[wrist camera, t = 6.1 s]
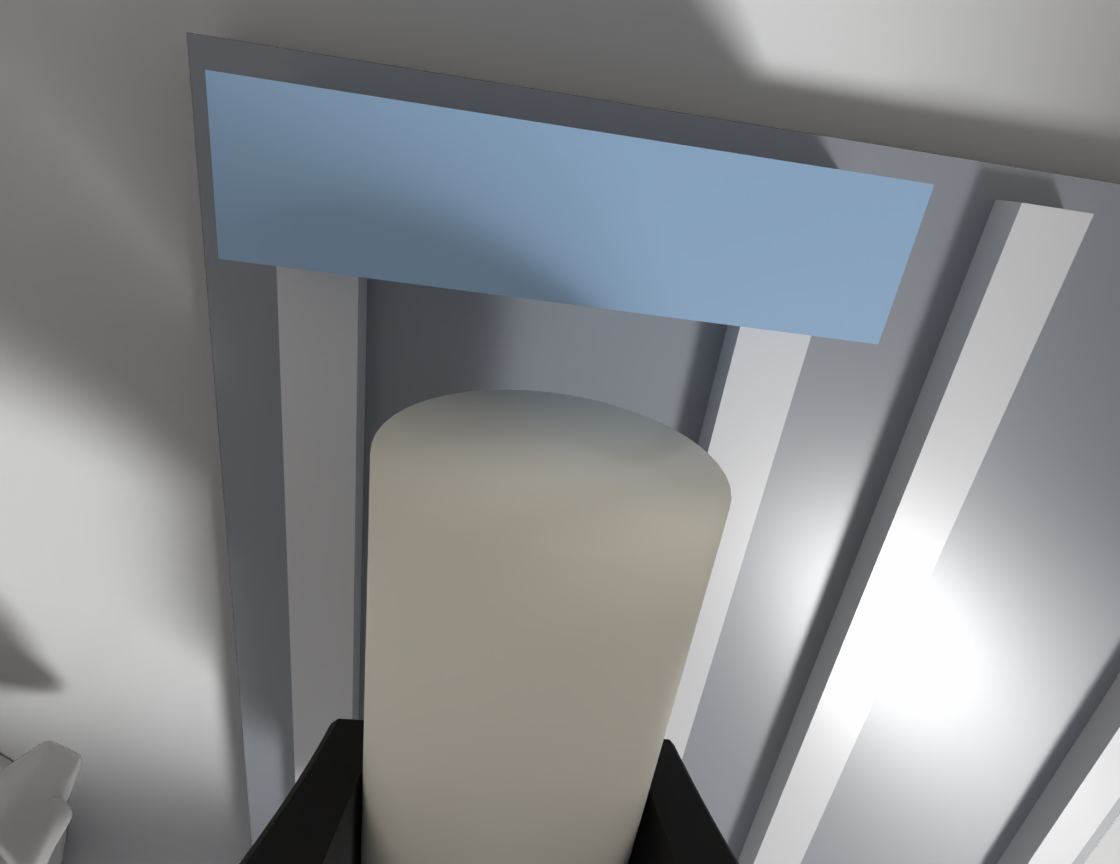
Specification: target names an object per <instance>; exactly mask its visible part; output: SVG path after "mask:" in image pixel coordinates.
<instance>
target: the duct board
mask: <svg viewBox="0 0 1120 864" xmlns="http://www.w3.org/2000/svg"><path fill="white" fill-rule="evenodd" d="M187 43H188V55H189V68H190V80H191V93H192V105H193V118H194V130H195V143H196V155H197V168H198V180H199V193H200V205H201V218H202V230H203V243H204V255H205V268H206V280H207V293H208V305H209V318H210V330H211V343H212V355H213V368H214V380H215V393H216V405H217V418H218V430H219V443H220V455H221V468H222V480H223V493H224V505H225V518H226V530H227V543H228V555H229V568H230V580H231V593H232V605H233V618H234V630H235V643H236V655H237V668H238V680H239V693H240V705H241V718H242V730H243V743H244V755H245V768H246V780H247V793H248V805H249V818H250V830H251V843H252V846H253V844H254V843H255V842H256V840H257V839H258V837H259V836H260V834H261V833H262V832H263V830H264V829H265V827H266V826H267V824H268V823H269V822H270V820H271V819H272V817H273V816H274V815H275V813H276V812H277V810H278V809H279V807H280V806H281V804H282V803H283V801H284V800H285V798H286V797H287V795H288V794H289V792H290V791H291V789H292V788H293V786H294V785H295V783H296V782H297V780H298V778H299V777H300V775H301V774H302V772H303V771H304V769H305V767H306V766H307V764H308V762H309V761H310V759H311V758H312V756H313V754H314V752H315V751H316V749H317V747H318V746H319V744H320V742H321V740H322V739H323V737H324V735H325V733H326V731H327V729H328V728H329V726H330V724H331V723H332V722H334V721H335V720H337V719H338V718H339V719H354V720H364V695H365V652H366V609H367V566H368V522H369V479H370V451H371V444H372V441H373V439H374V436H375V434H376V432H377V431H378V430H379V429H380V427H381V426H382V425H383V424H384V423H385V422H386V421H387V420H388V419H390V418H391V417H392V416H393V415H395V414H397V413H398V412H400V411H402V410H404V409H405V408H408V407H410V406H412V405H415V404H417V403H419V402H423V401H426V400H429V399H432V398H436V397H440V396H445V395H449V394H455V393H462V392H470V391H480V390H529V391H542V392H551V393H559V394H565V395H572V396H577V397H582V398H587V399H592V400H596V401H600V402H604V403H608V404H611V405H615V406H618V407H621V408H624V409H627V410H630V411H633V412H636V413H639V414H641V415H644V416H646V417H649V418H651V419H653V420H656V421H658V422H660V423H662V424H664V425H666V426H668V427H670V428H672V429H674V430H676V431H677V432H679V433H681V434H683V435H684V436H686V437H688V438H689V439H690V440H692V441H693V442H695V443H696V444H697V445H699V446H700V447H701V448H702V449H704V450H705V451H706V452H707V453H708V454H709V455H710V456H711V457H712V458H713V459H714V460H715V461H716V462H717V463H718V465H719V466H720V467H721V469H722V470H723V472H724V473H725V475H726V477H727V479H728V482H729V485H730V488H731V497H732V499H731V504H730V509H729V513H728V516H727V520H726V523H725V527H724V530H723V534H722V537H721V541H720V544H719V548H718V551H717V555H716V558H715V562H714V565H713V569H712V572H711V576H710V579H709V583H708V586H707V590H706V593H705V597H704V600H703V604H702V607H701V611H700V614H699V618H698V621H697V625H696V628H695V632H694V635H693V639H692V642H691V646H690V649H689V653H688V656H687V660H686V663H685V667H684V670H683V674H682V677H681V681H680V684H679V688H678V691H677V695H676V698H675V702H674V705H673V709H672V712H671V716H670V719H669V723H668V726H667V730H666V733H665V737H664V739H670V741H671V742H672V743H673V744H674V745H675V747H676V749H677V751H678V753H679V755H680V757H681V759H682V761H683V763H684V765H685V767H686V769H687V771H688V773H689V775H690V777H691V779H692V781H693V783H694V785H695V787H696V788H697V790H698V792H699V794H700V796H701V798H702V800H703V801H704V803H705V805H706V807H707V809H708V811H709V812H710V814H711V816H712V818H713V820H714V821H715V823H716V825H717V827H718V829H719V830H720V832H721V834H722V836H723V837H724V839H725V841H726V843H727V844H728V846H729V848H730V849H731V851H732V853H733V854H734V856H735V858H736V859H737V861H738V863H739V864H1084V863H1085V861H1086V860H1087V858H1088V857H1089V856H1090V854H1091V853H1092V851H1093V850H1094V849H1095V847H1096V846H1097V845H1098V843H1099V842H1100V840H1101V839H1102V838H1103V836H1104V835H1105V834H1106V832H1107V831H1108V829H1109V828H1110V827H1111V825H1112V824H1113V823H1114V821H1115V820H1116V818H1117V817H1118V816H1119V814H1120V184H1117V183H1111V182H1104V181H1098V180H1092V179H1086V178H1080V177H1074V176H1067V175H1061V174H1055V173H1049V172H1043V171H1037V170H1031V169H1024V168H1018V167H1012V166H1006V165H1000V164H994V163H987V162H981V161H975V160H969V159H963V158H957V157H950V156H944V155H938V154H932V153H926V152H920V151H914V150H907V149H901V148H895V147H889V146H883V145H877V144H870V143H864V142H858V141H852V140H846V139H840V138H833V137H827V136H821V135H815V134H809V133H803V132H797V131H790V130H784V129H778V128H772V127H766V126H760V125H753V124H747V123H741V122H735V121H729V120H723V119H717V118H710V117H704V116H698V115H692V114H686V113H680V112H673V111H667V110H661V109H655V108H649V107H643V106H636V105H630V104H624V103H618V102H612V101H606V100H600V99H593V98H587V97H581V96H575V95H569V94H563V93H556V92H550V91H544V90H538V89H532V88H526V87H519V86H513V85H507V84H501V83H495V82H489V81H483V80H476V79H470V78H464V77H458V76H452V75H446V74H439V73H433V72H427V71H421V70H415V69H409V68H402V67H396V66H390V65H384V64H378V63H372V62H366V61H359V60H353V59H347V58H341V57H335V56H329V55H322V54H316V53H310V52H304V51H298V50H292V49H286V48H279V47H273V46H267V45H261V44H255V43H249V42H242V41H236V40H230V39H224V38H218V37H212V36H205V35H199V34H193V33H187Z"/></svg>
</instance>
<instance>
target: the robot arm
mask: <svg viewBox="0 0 1120 864" xmlns="http://www.w3.org/2000/svg"><path fill="white" fill-rule="evenodd" d="M363 738H364V720H354V719H339V718H338V719H337V720H335V721H334V722H332V723H331V724H330V726H329V728H328V729H327V731H326V733H325V735H324V737H323V739H322V740H321V742H320V744H319V746H318V747H317V749H316V751H315V752H314V754H313V756H312V758H311V759H310V761H309V762H308V764H307V766H306V767H305V769H304V771H303V772H302V774H301V775H300V777H299V778H298V780H297V782H296V783H295V785H294V786H293V788H292V789H291V791H290V792H289V794H288V795H287V797H286V798H285V800H284V801H283V803H282V804H281V806H280V807H279V809H278V810H277V812H276V813H275V815H274V816H273V817H272V819H271V820H270V822H269V823H268V824H267V826H266V827H265V829H264V830H263V832H262V833H261V834H260V836H259V837H258V839H257V840H256V842H255V843H254V844H253V846H252V847H251V849H250V850H249V852H248V853H247V854H246V856H245V857H244V859H243V860H242V861H241V863H240V864H361V824H362V781H363ZM628 864H739V863H738V861H737V859H736V858H735V856H734V854H733V853H732V851H731V849H730V848H729V846H728V844H727V843H726V841H725V839H724V837H723V836H722V834H721V832H720V830H719V829H718V827H717V825H716V823H715V821H714V820H713V818H712V816H711V814H710V812H709V811H708V809H707V807H706V805H705V803H704V801H703V800H702V798H701V796H700V794H699V792H698V790H697V788H696V787H695V785H694V783H693V781H692V779H691V777H690V775H689V773H688V771H687V769H686V767H685V765H684V763H683V761H682V759H681V757H680V755H679V753H678V751H677V749H676V747H675V745H674V744H673V743H672V742H671V741H670V739H664V740H663V744H662V747H661V751H660V754H659V758H658V761H657V765H656V768H655V772H654V775H653V779H652V782H651V786H650V789H649V793H648V796H647V800H646V803H645V807H644V810H643V814H642V817H641V821H640V824H639V827H638V831H637V834H636V838H635V841H634V845H633V848H632V852H631V855H630V859H629V862H628Z"/></svg>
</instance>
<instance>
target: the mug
mask: <svg viewBox="0 0 1120 864" xmlns="http://www.w3.org/2000/svg"><path fill="white" fill-rule="evenodd" d="M81 764H82V762H81V756H80V755H79V754H77V753H76V752H74V751H72V750H70V749H68V748H66V747H64V746H61V745H59V744H57V743H54V742H52V741H46V742H43V743H41V744H39V745H38V746H36V747H35V748H33V749H32V750H30V751H29V752H27V753H26V754H24V755H23V756H21V757H20V758H18V759H17V760H15V761H14V762H12V761H11V760H9V759H7V758H6V757H4V756H2V755H1V754H0V864H61V863H62V858H63V853H64V847H65V841H66V836H67V831H66V827H67V826H68V824H69V822H70V820H71V818H72V809H71V807H70V806H69V804H68V803H67V800H68V798H69V796H70V794H71V792H72V789H73V786H74V783H75V780H76V777H77V774H78V771H79V769H80V767H81Z"/></svg>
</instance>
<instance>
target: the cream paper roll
mask: <svg viewBox="0 0 1120 864" xmlns="http://www.w3.org/2000/svg"><path fill="white" fill-rule="evenodd" d="M731 499H732V497H731V488H730V485H729V482H728V479H727V477H726V475H725V473H724V472H723V470H722V469H721V467H720V466H719V465H718V463H717V462H716V461H715V460H714V459H713V458H712V457H711V456H710V455H709V454H708V453H707V452H706V451H705V450H704V449H702V448H701V447H700V446H699V445H697V444H696V443H695V442H693V441H692V440H690V439H689V438H688V437H686V436H684V435H683V434H681V433H679V432H677V431H676V430H674V429H672V428H670V427H668V426H666V425H664V424H662V423H660V422H658V421H656V420H653V419H651V418H649V417H646V416H644V415H641V414H639V413H636V412H633V411H630V410H627V409H624V408H621V407H618V406H615V405H611V404H608V403H604V402H600V401H596V400H592V399H587V398H582V397H577V396H572V395H565V394H559V393H551V392H542V391H529V390H480V391H470V392H462V393H455V394H449V395H445V396H440V397H436V398H432V399H429V400H426V401H423V402H419V403H417V404H415V405H412V406H410V407H408V408H405V409H404V410H402V411H400V412H398V413H397V414H395V415H393V416H392V417H391V418H390V419H388V420H387V421H386V422H385V423H384V424H383V425H382V426H381V427H380V429H379V430H378V431H377V432H376V434H375V436H374V439H373V441H372V444H371V451H370V479H369V522H368V566H367V609H366V652H365V695H364V738H363V781H362V824H361V864H628V862H629V859H630V855H631V852H632V848H633V845H634V841H635V838H636V834H637V831H638V827H639V824H640V821H641V817H642V814H643V810H644V807H645V803H646V800H647V796H648V793H649V789H650V786H651V782H652V779H653V775H654V772H655V768H656V765H657V761H658V758H659V754H660V751H661V747H662V744H663V740H664V737H665V733H666V730H667V726H668V723H669V719H670V716H671V712H672V709H673V705H674V702H675V698H676V695H677V691H678V688H679V684H680V681H681V677H682V674H683V670H684V667H685V663H686V660H687V656H688V653H689V649H690V646H691V642H692V639H693V635H694V632H695V628H696V625H697V621H698V618H699V614H700V611H701V607H702V604H703V600H704V597H705V593H706V590H707V586H708V583H709V579H710V576H711V572H712V569H713V565H714V562H715V558H716V555H717V551H718V548H719V544H720V541H721V537H722V534H723V530H724V527H725V523H726V520H727V516H728V513H729V509H730V504H731Z"/></svg>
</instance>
